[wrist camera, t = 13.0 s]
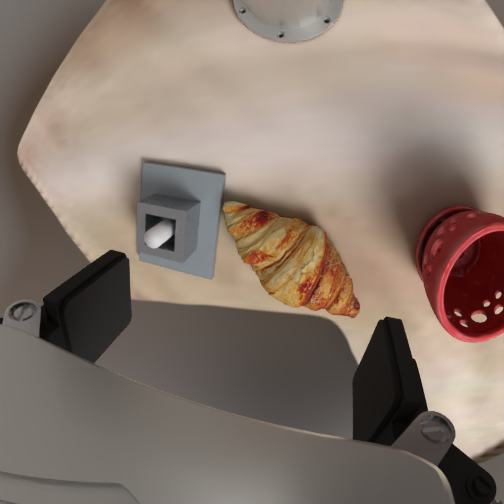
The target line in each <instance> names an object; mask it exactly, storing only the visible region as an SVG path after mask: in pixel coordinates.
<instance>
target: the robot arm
mask: <svg viewBox="0 0 504 504" xmlns="http://www.w3.org/2000/svg"><path fill="white" fill-rule="evenodd" d="M343 1H344V0H233V3H234V8H235V11H236V13H237V16H238V17H239V18H240V20H241V21H242V23H243V24H244V25H245V26H246V27H247V28H248V29H249V30H251V31H252V32H253V33H255V34H257V35H258V36H260V37H262V38H265V39H268V40H271V41H274V42H281V43H298V42H305V41H308V40H311V39H314V38H316V37H318V36H320V35H322V34H324V33H325V32H326V31H328V30H329V29H330V28H331V27H332V26H333V25H334V24H335V23H336V22H337V20H338V18H339V16H340V14H341V12H342V8H343ZM243 11H246V12H245V13H243V14H242V12H243ZM325 21H329V23H325ZM280 35H284V36H283V37H282V38H280V37H279V36H280ZM43 302H44V305H43V306H40V305H39V303H37V302H36V301H33V300H19V301H17V302H14V303H13V304H11V305H9V307H8V308H7V309H6V311H5V314H4V318H0V504H503V503H502V501H501V500H499V501H498V502H497V501H496V500H495V499H494V498H495V495H496V484H495V481H494V479H493V478H492V476H491V475H490V474H489V473H488V472H486V471H485V470H484V469H483V468H481V467H480V466H479V465H478V464H477V463H475V462H474V461H473V460H472V459H471V458H469V457H468V456H467V455H466V454H464V453H463V452H462V451H461V450H460V449H458V448H457V447H456V446H455V445H453V444H452V443H453V441H454V439H455V429H454V426H453V424H452V423H451V421H450V420H449V419H448V418H447V417H446V416H444V415H442V414H441V413H438V412H435V411H428V408H427V403H426V399H425V395H424V391H423V387H422V382H421V378H420V375H419V371H418V367H417V363H416V361H415V359H413V358H412V354H411V351H410V347H409V344H408V340H407V336H406V333H405V330H404V326H403V323H402V320H401V319H396V318H391V317H385V318H384V320H381V319H380V320H379V321H378V323H377V326H376V328H375V330H374V333H373V335H372V337H371V340H370V342H369V344H368V346H367V349H366V351H365V353H364V355H363V357H362V360H361V362H360V364H359V366H358V368H357V370H356V373H355V375H354V378H353V439H347V438H341V437H336V436H330V435H324V434H319V433H314V432H309V431H304V430H299V429H294V428H289V427H284V426H280V425H275V424H271V423H267V422H262V421H259V420H255V419H251V418H247V417H243V416H240V415H236V414H233V413H229V412H225V411H222V410H219V409H215V408H212V407H209V406H205V405H202V404H199V403H196V402H193V401H190V400H186V399H184V398H181V397H178V396H175V395H172V394H169V393H166V392H163V391H161V390H158V389H155V388H152V387H150V386H147V385H145V384H142V383H139V382H137V381H134V380H132V379H129V378H127V377H124V376H122V375H119V374H117V373H115V372H112V371H110V370H108V369H105V368H103V367H101V366H98V365H96V364H94V363H95V362H96V360H97V359H98V358H99V357H100V356H101V355H102V354H103V353H104V351H105V350H106V349H107V348H108V347H109V346H110V345H111V344H112V342H113V341H114V340H115V339H116V338H117V337H118V336H119V335H120V333H121V332H122V331H123V330H124V329H125V328H126V327H127V326H128V325H129V323H130V321H131V317H132V313H131V295H130V267H129V259H128V258H126V255H125V253H122V252H118V251H115V250H110V251H108V252H107V253H105V254H104V255H102V256H101V257H99V258H98V259H96V260H95V261H94V262H92V263H91V264H89V265H88V266H86V267H85V268H84V269H82V270H81V271H80V272H78V273H77V274H75V275H74V276H72V277H71V278H70V279H68V280H67V281H66V282H64V283H63V284H61V285H60V286H59V287H57V288H56V289H54V290H53V291H52V292H51V293H49V294H48V295H46V296H45V297H44V298H43Z"/></svg>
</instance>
